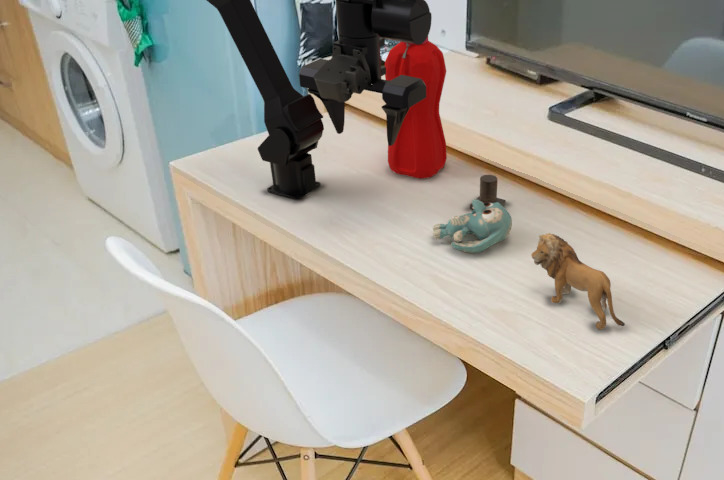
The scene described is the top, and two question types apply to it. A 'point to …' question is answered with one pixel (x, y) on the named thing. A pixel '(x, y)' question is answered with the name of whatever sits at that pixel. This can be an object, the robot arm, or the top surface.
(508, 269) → the top surface
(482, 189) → the peg
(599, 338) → the top surface
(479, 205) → the stuffed animal
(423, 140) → the water bottle
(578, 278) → the lion figurine
